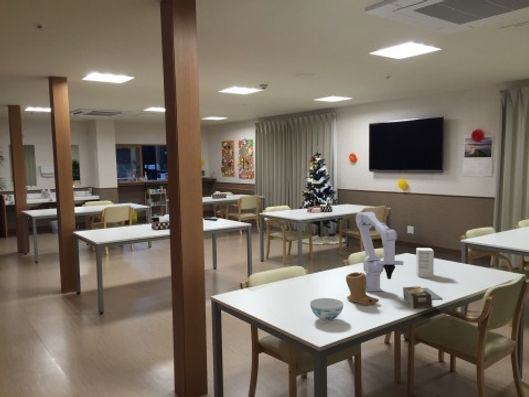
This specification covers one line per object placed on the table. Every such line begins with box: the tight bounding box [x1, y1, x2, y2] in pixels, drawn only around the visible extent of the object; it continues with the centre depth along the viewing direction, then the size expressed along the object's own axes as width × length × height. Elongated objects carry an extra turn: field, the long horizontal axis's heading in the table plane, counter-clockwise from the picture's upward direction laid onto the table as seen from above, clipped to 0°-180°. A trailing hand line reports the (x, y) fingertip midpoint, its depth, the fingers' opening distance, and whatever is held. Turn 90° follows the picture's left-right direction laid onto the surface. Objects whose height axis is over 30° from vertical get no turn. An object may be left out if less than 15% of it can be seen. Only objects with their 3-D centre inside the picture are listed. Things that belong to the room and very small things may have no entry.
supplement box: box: [415, 247, 435, 278], centre depth 271 cm, size 10×9×17 cm
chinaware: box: [309, 297, 345, 323], centre depth 196 cm, size 15×15×8 cm
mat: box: [422, 287, 443, 301], centre depth 233 cm, size 11×20×1 cm, turn 1°
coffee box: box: [402, 285, 433, 309], centre depth 217 cm, size 9×6×16 cm
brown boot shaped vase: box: [345, 272, 380, 306], centre depth 220 cm, size 15×12×15 cm
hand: (388, 278), depth 227 cm, fingers closed
